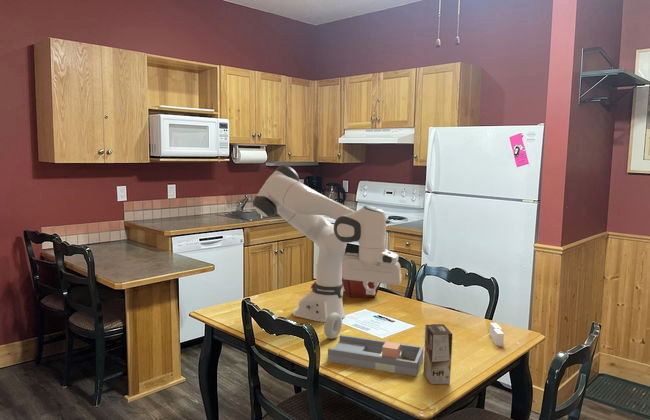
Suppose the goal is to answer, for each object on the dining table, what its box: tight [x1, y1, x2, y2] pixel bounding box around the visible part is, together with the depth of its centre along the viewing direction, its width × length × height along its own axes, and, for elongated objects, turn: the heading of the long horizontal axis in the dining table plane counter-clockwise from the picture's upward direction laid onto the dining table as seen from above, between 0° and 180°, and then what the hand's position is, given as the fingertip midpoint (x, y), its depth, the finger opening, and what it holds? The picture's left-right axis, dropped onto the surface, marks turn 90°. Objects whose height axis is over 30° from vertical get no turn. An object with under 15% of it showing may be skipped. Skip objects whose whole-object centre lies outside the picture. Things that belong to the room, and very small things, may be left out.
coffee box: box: [423, 323, 453, 385], centre depth 157 cm, size 9×6×16 cm
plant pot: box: [342, 267, 381, 299], centre depth 246 cm, size 19×19×17 cm
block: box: [382, 341, 401, 359], centre depth 164 cm, size 5×5×5 cm
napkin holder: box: [488, 322, 505, 347], centre depth 189 cm, size 15×11×6 cm
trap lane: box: [327, 334, 425, 377], centre depth 169 cm, size 30×14×4 cm, turn 71°
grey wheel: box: [323, 312, 343, 340], centre depth 188 cm, size 10×4×10 cm, turn 148°
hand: (370, 294), depth 169 cm, fingers closed
